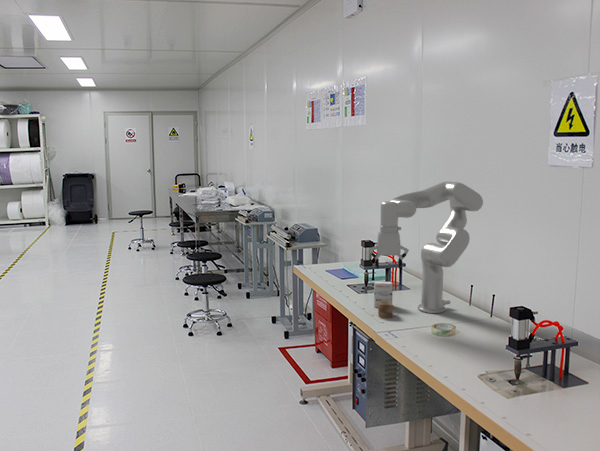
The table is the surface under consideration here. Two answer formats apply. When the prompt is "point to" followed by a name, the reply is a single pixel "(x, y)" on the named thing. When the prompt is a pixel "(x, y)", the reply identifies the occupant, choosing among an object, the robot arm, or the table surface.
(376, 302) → the ink box
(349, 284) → the table surface
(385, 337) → the table surface
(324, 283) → the table surface
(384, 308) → the walnut block
